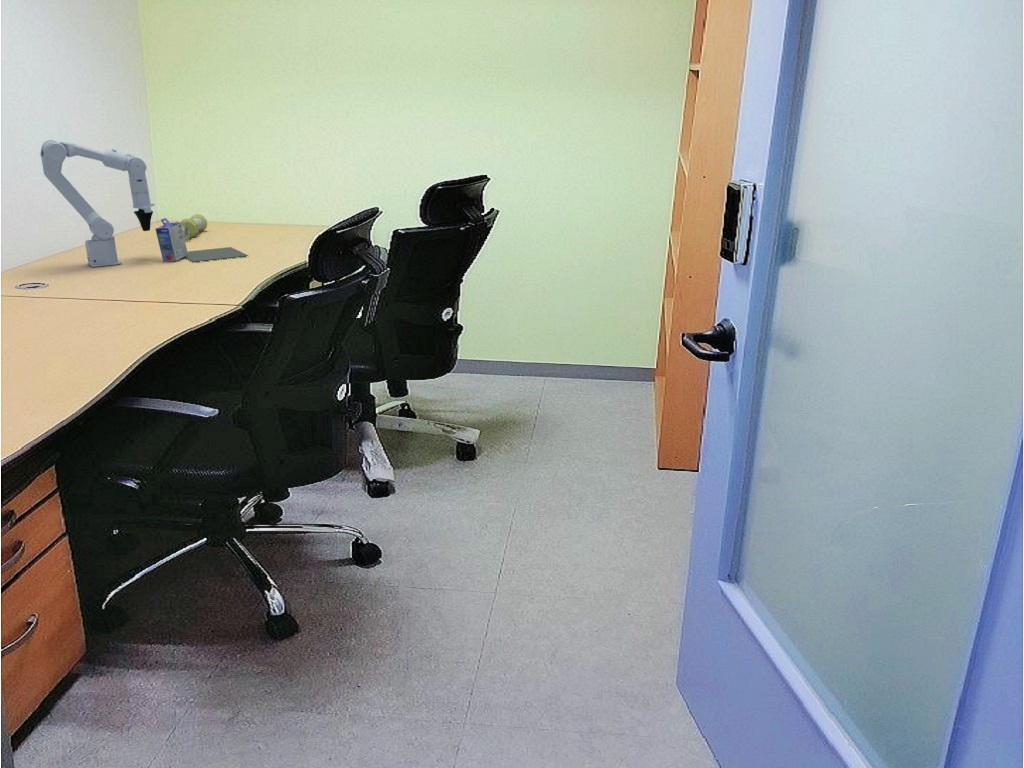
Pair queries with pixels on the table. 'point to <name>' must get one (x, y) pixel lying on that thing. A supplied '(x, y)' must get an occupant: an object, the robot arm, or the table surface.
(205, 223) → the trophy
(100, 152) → the robot arm
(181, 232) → the ink cartridge box
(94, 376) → the table surface
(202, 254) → the desk mat
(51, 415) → the table surface
